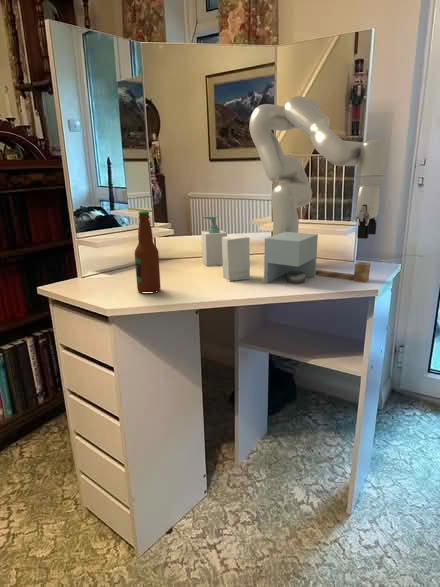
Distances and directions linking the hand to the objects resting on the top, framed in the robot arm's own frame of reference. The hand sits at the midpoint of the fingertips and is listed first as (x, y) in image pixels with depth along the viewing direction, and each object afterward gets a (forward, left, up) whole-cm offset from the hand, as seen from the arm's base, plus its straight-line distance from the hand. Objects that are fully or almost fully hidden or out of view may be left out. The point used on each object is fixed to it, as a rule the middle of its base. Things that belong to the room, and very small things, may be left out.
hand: (366, 236), depth 132 cm
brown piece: (-8, 0, -15) cm, 17 cm away
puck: (-19, -12, -15) cm, 27 cm away
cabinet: (-22, -11, -15) cm, 28 cm away
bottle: (-55, -46, -15) cm, 73 cm away
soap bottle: (-59, -3, -15) cm, 61 cm away
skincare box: (-39, -19, -15) cm, 46 cm away
